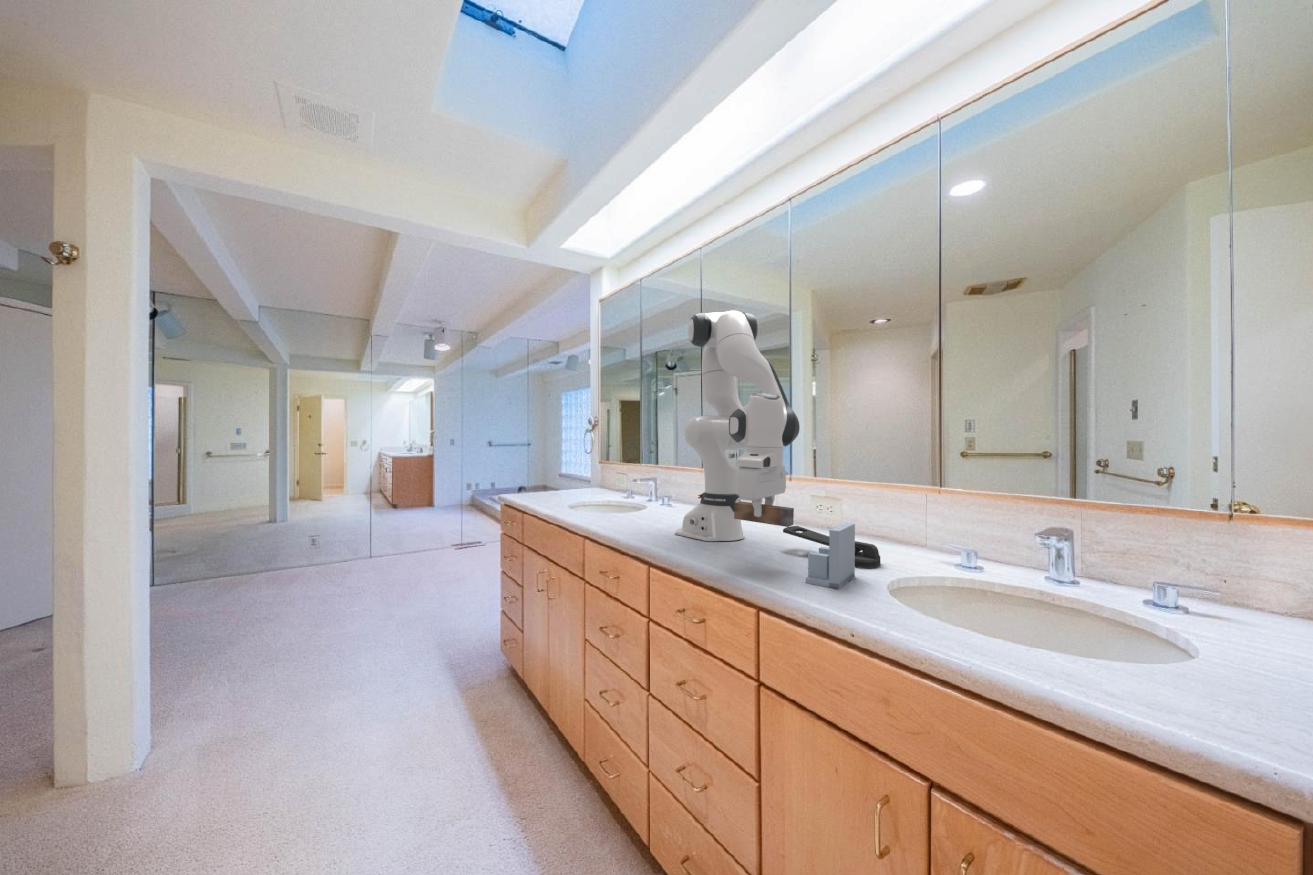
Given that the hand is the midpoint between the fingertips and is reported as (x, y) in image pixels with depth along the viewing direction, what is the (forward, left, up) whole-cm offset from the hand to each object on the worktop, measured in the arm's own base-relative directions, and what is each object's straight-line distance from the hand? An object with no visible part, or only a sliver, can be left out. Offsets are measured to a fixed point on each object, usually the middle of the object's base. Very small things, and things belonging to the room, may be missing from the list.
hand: (762, 514), depth 113 cm
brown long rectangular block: (0, 0, -2) cm, 2 cm away
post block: (+17, 0, -13) cm, 21 cm away
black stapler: (+10, +20, -13) cm, 26 cm away
